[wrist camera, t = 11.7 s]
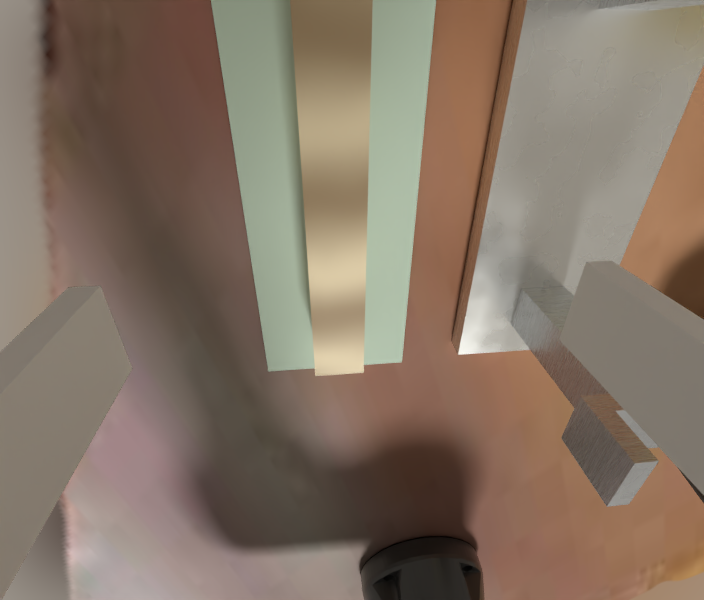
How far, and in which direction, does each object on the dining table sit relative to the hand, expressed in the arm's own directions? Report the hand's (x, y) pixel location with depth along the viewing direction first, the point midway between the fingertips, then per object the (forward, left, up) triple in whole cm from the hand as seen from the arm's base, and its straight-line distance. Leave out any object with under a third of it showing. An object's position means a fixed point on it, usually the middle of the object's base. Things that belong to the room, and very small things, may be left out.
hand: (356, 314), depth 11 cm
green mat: (0, 0, -14) cm, 14 cm away
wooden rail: (0, 0, -13) cm, 13 cm away
